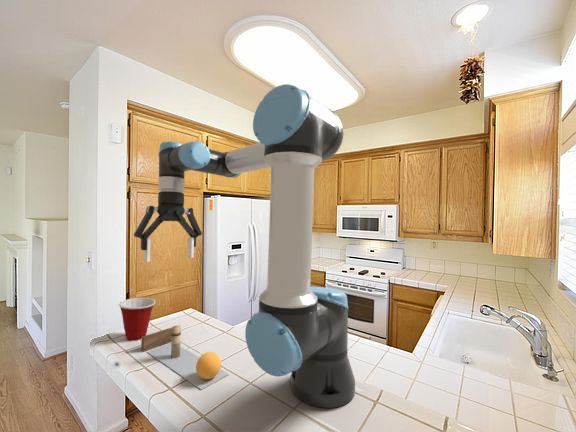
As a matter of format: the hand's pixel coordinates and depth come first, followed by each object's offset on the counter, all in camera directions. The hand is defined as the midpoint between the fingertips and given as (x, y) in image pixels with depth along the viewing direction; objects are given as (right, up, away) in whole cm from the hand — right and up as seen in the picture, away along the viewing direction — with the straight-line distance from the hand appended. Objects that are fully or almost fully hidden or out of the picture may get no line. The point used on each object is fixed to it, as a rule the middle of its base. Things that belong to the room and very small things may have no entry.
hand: (170, 259), depth 82 cm
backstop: (-4, -27, 0) cm, 27 cm away
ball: (+17, -24, -17) cm, 34 cm away
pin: (+5, -27, -7) cm, 28 cm away
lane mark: (+9, -27, -10) cm, 30 cm away
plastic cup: (-14, -28, +6) cm, 31 cm away
